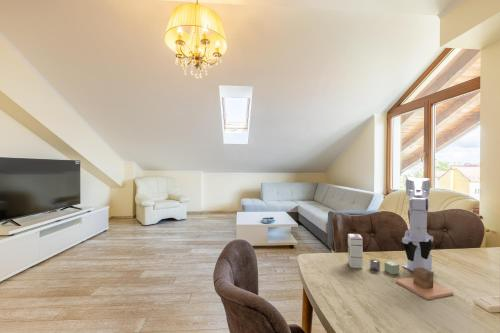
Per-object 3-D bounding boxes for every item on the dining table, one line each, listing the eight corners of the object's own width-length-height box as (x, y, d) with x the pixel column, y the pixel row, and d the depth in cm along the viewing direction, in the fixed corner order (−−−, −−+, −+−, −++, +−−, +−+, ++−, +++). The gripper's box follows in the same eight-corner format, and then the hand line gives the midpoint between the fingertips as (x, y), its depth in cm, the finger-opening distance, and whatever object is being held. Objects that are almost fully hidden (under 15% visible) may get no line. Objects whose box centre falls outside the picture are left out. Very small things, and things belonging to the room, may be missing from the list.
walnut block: (421, 282, 95) (422, 267, 95) (433, 287, 91) (433, 272, 91) (413, 283, 94) (413, 268, 94) (424, 289, 90) (424, 273, 90)
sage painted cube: (391, 269, 109) (391, 261, 109) (399, 273, 105) (399, 264, 105) (384, 270, 108) (384, 262, 108) (391, 274, 104) (392, 265, 104)
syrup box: (363, 268, 109) (363, 237, 109) (349, 267, 111) (350, 236, 111) (359, 263, 115) (360, 234, 115) (347, 262, 116) (347, 233, 116)
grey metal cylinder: (374, 267, 111) (375, 258, 111) (381, 271, 107) (382, 262, 107) (368, 268, 110) (368, 259, 110) (374, 272, 106) (374, 263, 106)
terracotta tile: (419, 278, 101) (419, 276, 101) (453, 294, 88) (453, 292, 88) (395, 282, 97) (395, 279, 97) (427, 299, 84) (427, 297, 84)
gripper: (413, 230, 92) (413, 265, 92) (441, 228, 96) (440, 261, 96) (397, 225, 98) (397, 258, 98) (424, 223, 102) (423, 254, 102)
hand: (417, 259), depth 98 cm, fingers open, 7 cm apart
